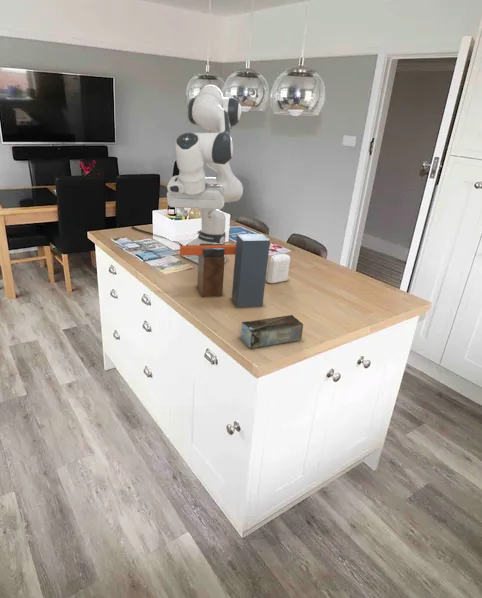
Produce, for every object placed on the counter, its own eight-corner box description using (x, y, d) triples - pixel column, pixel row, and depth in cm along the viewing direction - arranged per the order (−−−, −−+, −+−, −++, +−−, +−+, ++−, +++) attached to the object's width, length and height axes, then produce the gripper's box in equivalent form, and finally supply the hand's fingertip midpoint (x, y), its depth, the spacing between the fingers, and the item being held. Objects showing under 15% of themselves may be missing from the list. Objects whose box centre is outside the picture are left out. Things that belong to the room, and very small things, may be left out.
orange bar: (181, 255, 157) (181, 248, 155) (180, 253, 159) (180, 245, 158) (242, 254, 163) (242, 247, 162) (240, 251, 166) (240, 244, 164)
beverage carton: (239, 337, 136) (241, 319, 133) (290, 329, 143) (293, 312, 140) (249, 349, 129) (251, 331, 126) (302, 341, 136) (305, 323, 134)
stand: (237, 307, 156) (243, 240, 145) (231, 298, 163) (236, 234, 152) (262, 306, 159) (270, 240, 148) (255, 297, 165) (262, 234, 155)
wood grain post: (202, 297, 162) (204, 250, 155) (197, 286, 171) (199, 242, 163) (222, 296, 165) (225, 250, 157) (216, 286, 173) (218, 242, 165)
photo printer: (282, 277, 188) (286, 251, 182) (288, 280, 184) (292, 254, 179) (264, 281, 182) (267, 254, 177) (270, 284, 179) (274, 257, 174)
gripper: (224, 179, 142) (227, 212, 152) (167, 176, 145) (173, 209, 155) (221, 189, 138) (224, 223, 148) (162, 187, 141) (169, 220, 151)
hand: (198, 216), depth 152 cm, fingers open, 8 cm apart
